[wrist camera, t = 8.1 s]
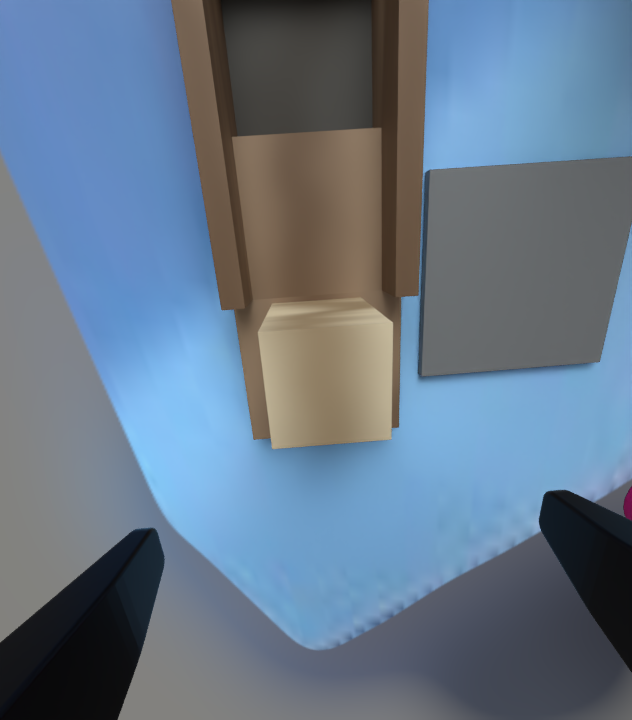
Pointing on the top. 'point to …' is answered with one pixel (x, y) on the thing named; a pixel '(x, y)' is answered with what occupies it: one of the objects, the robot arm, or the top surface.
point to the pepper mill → (628, 505)
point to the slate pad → (521, 263)
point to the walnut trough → (307, 156)
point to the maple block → (327, 372)
